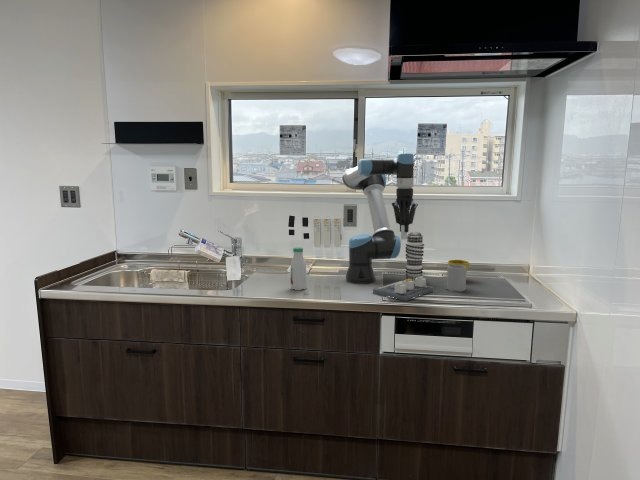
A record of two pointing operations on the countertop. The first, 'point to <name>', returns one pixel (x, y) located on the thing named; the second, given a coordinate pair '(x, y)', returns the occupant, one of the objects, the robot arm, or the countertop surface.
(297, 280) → the milk bottle
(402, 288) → the breaker left
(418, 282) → the breaker right
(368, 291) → the countertop surface
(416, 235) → the decorative candle
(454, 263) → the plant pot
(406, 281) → the breaker mid
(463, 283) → the mug
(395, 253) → the robot arm
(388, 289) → the panel
